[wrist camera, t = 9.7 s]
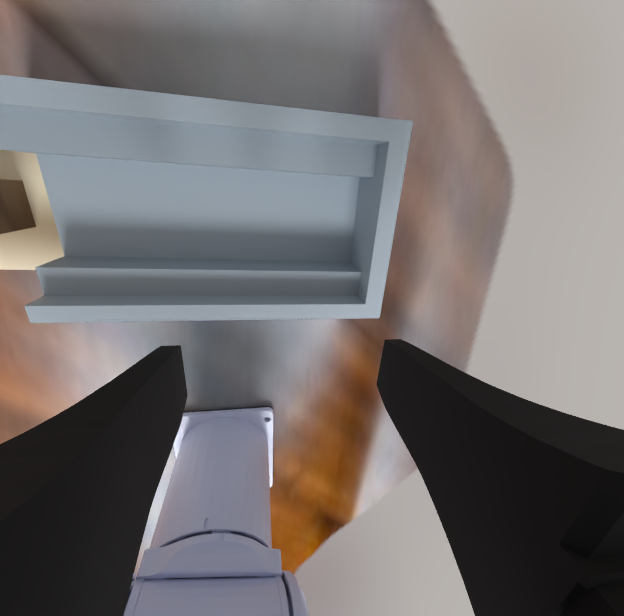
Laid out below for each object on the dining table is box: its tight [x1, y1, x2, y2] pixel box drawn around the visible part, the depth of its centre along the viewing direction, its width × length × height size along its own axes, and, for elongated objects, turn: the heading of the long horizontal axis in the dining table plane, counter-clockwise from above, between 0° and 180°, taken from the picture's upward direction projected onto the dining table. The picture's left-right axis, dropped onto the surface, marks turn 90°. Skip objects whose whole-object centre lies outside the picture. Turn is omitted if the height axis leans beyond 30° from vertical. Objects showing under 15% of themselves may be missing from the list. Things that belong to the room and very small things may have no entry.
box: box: [0, 75, 413, 323], centre depth 16 cm, size 10×18×4 cm, turn 86°
